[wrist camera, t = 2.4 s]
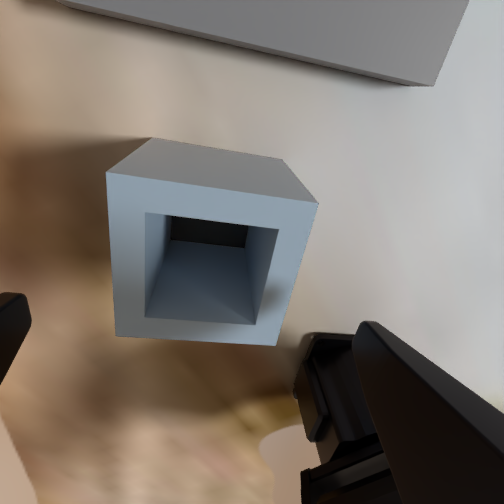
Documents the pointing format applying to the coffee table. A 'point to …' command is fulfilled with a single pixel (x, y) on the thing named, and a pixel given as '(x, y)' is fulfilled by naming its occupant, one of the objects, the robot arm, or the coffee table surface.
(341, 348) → the robot arm
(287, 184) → the blue-grey hollow cube
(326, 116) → the coffee table surface
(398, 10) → the pin plate
